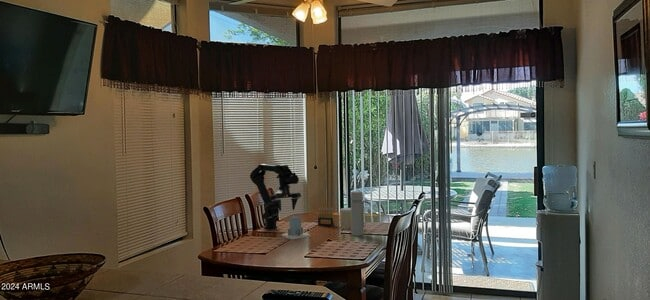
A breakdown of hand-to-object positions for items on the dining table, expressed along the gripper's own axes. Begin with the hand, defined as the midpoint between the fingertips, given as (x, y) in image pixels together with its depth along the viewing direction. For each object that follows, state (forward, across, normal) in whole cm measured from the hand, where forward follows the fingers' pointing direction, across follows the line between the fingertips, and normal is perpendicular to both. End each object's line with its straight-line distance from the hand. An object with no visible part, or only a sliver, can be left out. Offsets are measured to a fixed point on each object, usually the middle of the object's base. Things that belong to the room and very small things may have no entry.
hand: (286, 210), depth 295 cm
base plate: (+14, +11, -12) cm, 22 cm away
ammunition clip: (+14, +14, +24) cm, 31 cm away
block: (+13, +11, -12) cm, 21 cm away
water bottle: (+18, +44, +2) cm, 48 cm away
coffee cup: (+16, +31, +20) cm, 40 cm away
